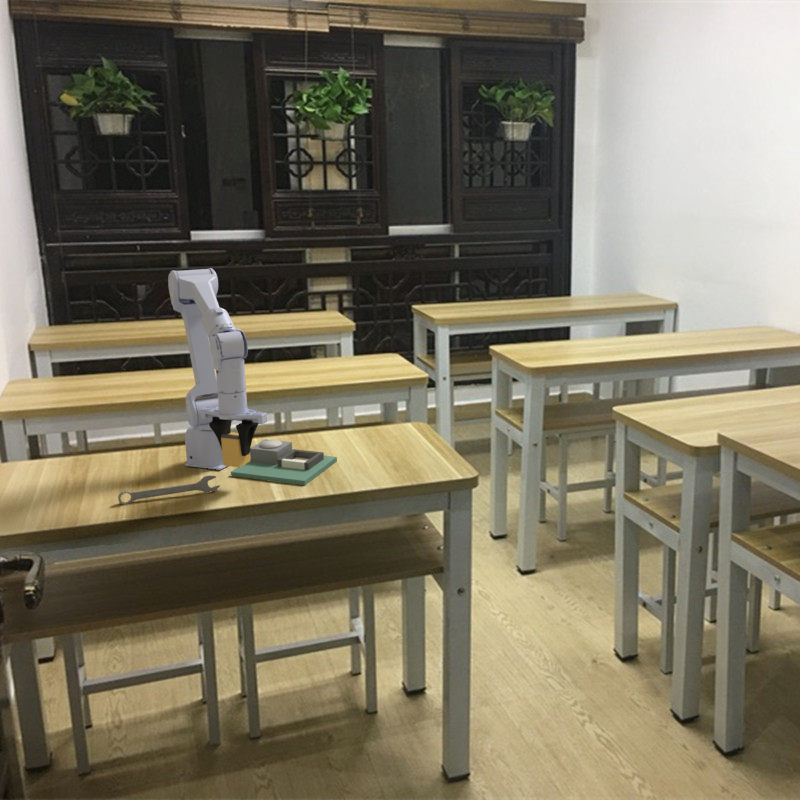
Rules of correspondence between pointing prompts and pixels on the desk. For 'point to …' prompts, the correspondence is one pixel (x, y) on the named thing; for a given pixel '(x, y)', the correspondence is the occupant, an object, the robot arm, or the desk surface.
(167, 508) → the desk surface
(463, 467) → the desk surface
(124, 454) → the desk surface
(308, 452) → the board
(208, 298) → the robot arm
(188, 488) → the combination wrench
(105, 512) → the desk surface
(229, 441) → the plug
